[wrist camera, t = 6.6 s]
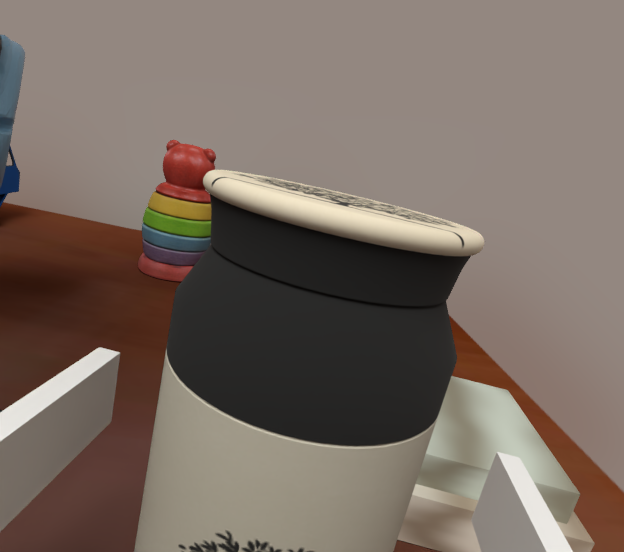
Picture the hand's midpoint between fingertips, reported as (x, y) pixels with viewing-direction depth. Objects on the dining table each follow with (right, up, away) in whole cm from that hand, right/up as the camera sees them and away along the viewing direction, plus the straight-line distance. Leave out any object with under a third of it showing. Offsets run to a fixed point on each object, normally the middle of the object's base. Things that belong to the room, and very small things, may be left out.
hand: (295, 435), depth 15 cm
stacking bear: (-19, +6, +48) cm, 52 cm away
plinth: (+9, -8, +16) cm, 20 cm away
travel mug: (-3, -10, +1) cm, 10 cm away
